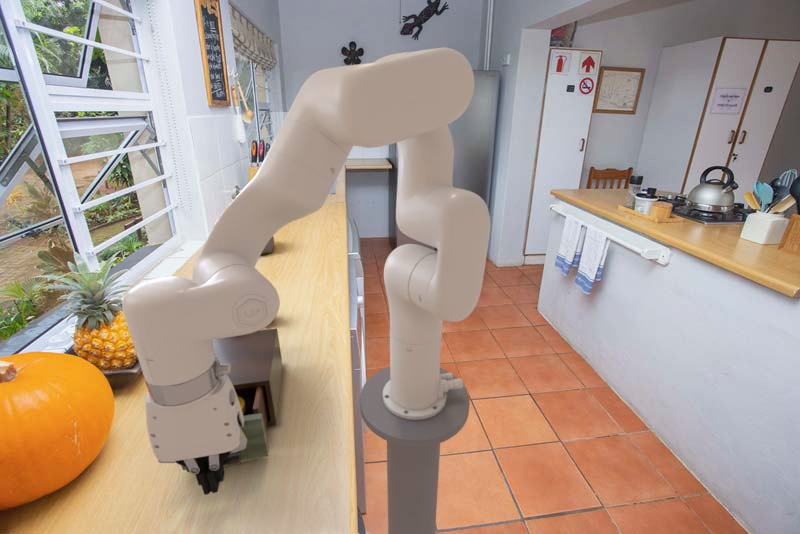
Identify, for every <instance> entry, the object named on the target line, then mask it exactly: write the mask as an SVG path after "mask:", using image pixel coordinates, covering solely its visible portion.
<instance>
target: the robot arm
mask: <svg viewBox="0 0 800 534" xmlns="http://www.w3.org/2000/svg"><path fill="white" fill-rule="evenodd" d="M475 82H476V81H475V73H474V71H473V68H472V65H471V63H470V61H469V60H468V59H467V57H466V56H465V55H463V53H461V52H460V51H458V50H456V49H455V48H450V47H446V46H445V47H444V46H443V47H436V48H428V49H427V48H426V49H422V50H414V51H406V52H405V51H403V52H397V53H393V54H388V55H385V56H382V57H380V58H378V59H377V60H375V61H374V62H367V63H366V62H365V63H359V64H351V65H343V66H335V67H328V68H323V69H320V70H318V71H316V72H314V73H312V74H311V75H310V76H309V77H307V79H306V80H305V81H304V82H303V84H302V85H301V88H300V89H299V91H298V93H297V95H296V97H295V99H294V101H293V103H292V104H291V106H290V108H289V110H288V112H287V114H286V116H285V117H284V120H283V122H282V123H281V126H280V127H279V130H278V131H277V134H276V135H275V138H274V140H273V141H272V143H271V146H270V148H269V149H268V151H267V153H266V155H265V157H264V159H263V160H262V163H261V165H260V167H258V170H257V172H256V174H255V175H254V176H253V178H251V180H250V181H249V182H248V183H247V184H246V185H245V186H244V187H243V188H241V191H240V192H239V193H238V194H237V196H236V197H234V199H232V201H231V202H230V203H229V204H228V205H227V206H226V208H225V209H224V210H223V211H222V213H221V214H220V216H219V217H218V219H217V220H216V222H215V224H213V227H212V229H211V231H210V233H208V237H207V238H206V240H205V243H204V244H203V246H202V248H201V250H200V252H199V254H198V256H197V258H196V260H195V264H194V266H193V269H192V276H191V278H189V277H188V278H187V277H184V276H163V277H157V278H153V279H150V280H147V281H144V282H141V283H139V284H137V285H135V286H133V287H132V288H130V289H129V290H128V291H127V292H126V293H125V295H124V296H123V298H122V302H121V308H122V313H123V316H124V320H125V322H126V326H127V329H128V331H129V335H130V338H131V341H132V344H133V347H134V350H135V353H136V357H137V359H138V363H139V365H140V369H141V372H142V375H143V378H144V382H145V385H146V388H147V393H146V394H145V401H144V402H145V404H144V407H145V420H146V421H145V422H146V429H147V434H148V439H149V443H150V447H151V449H152V452H153V455H154V456H155V458H156V459H157V461H158V463H159V464H177V465H180V466H181V465H182V466H184V467H187V468H188V469H189V471H190V472H189V473H190V474H192V475H195V478H196V481H197V485H198V487H199V486H201V489H202V492H203V495H209V494H210V493H212V494H216V493H218V492H219V487H220V484H221V483H222V482H224V479H225V469H224V466H223V464H222V462H223V461H224V460H225V459H226V458H227V457H228V456H229V455H230V453H235V452H238V451H241V450H244V449H245V448H246V445H247V438H246V436H245V434H244V433H243V431H242V429H241V428H242V427H244V417H243V412H242V409H241V406H240V402H239V400H238V397H237V394H236V391H235V389H234V387H233V384H232V382H231V380H230V379H229V377H228V375H227V374H230V373H231V366H230V363H227V364H224V363H220V361H218V356H215V351H214V347H213V342H212V340H214V339H220V338H227V337H235V336H241V335H246V334H250V333H253V332H256V331H259V330H264V329H265V328H266V327H268V326H269V325H270V324H271V323H272V322H273V321H274V320H275V319H276V317H277V316H278V313H279V311H280V307H281V306H280V304H281V302H280V301H281V300H280V296H279V293H278V290H277V288H276V287H275V286H274V285H273V283H272V282H271V281H270V280H269V279H268V278H267V277H265V276H264V274H262V273H261V272H260V271H259V270H258V269H257V268H256V265H257V263H258V261H259V260H260V257H261V255H262V254H261V253H262V251H263V250H264V248H265V246H266V245H267V243H268V242H269V240H270V239H271V238H272V237H274V235H276V234H277V232H278V231H279V230H281V229H282V228H283V227H285V226H287V225H289V224H291V223H292V222H295V221H298V220H300V219H303V218H305V217H308V216H310V215H313V214H315V213H316V212H318V211H319V210H320V209H321V208H323V205H325V202H326V200H327V198H328V196H329V194H330V192H331V191H332V188H333V186H334V184H335V181H336V180H337V178H338V176H339V174H340V172H341V170H342V168H343V166H344V164H345V163H346V161H347V158H348V157H349V155H350V153H351V151H352V149H353V147H361V148H367V149H370V148H371V149H373V148H381V147H386V146H389V145H393V144H396V145H397V152H398V168H397V169H398V171H397V188H396V202H395V203H396V204H395V205H396V206H395V222H396V225H397V229H399V231H400V232H401V233H402V234H404V235H405V236H407V237H408V238H411V239H413V240H415V241H417V242H419V243H421V244H425V245H427V246H430V247H432V248H434V249H432V248H429V247H426V246H424V245H421V244H415V243H406V244H402V245H398V247H396V248H394V249H393V250H392V251H391V252H390V253H389V254H388V256H387V258H386V260H385V263H384V268H383V283H384V288H385V293H386V297H387V302H388V308H389V309H388V310H389V311H388V312H389V366H390V380H389V381H388V382H387V383H386V385H385V387H384V389H383V402H384V404H385V406H386V407H387V409H388V410H389V411H390V412H392V413H393V414H395V415H396V416H398V417H401V418H404V419H409V420H423V419H427V418H430V417H433V416H435V415H436V414H438V413H439V412H440V411H441V410H442V409H443V407H444V406H445V403H446V396H447V395H446V392H448V390H450V389H461V388H463V385H464V381H463V379H462V378H461V377H460V378H457V379H453V375H454V374H453V373H452V372H449V373H445V374H440V368H441V356H442V355H441V354H442V352H441V351H442V334H443V321H444V322H448V323H458V322H463V320H465V319H466V318H468V317H469V316H470V315H471V314H472V313H473V312H474V310H475V309H476V307H477V305H478V302H479V300H480V295H481V292H482V288H483V281H484V275H485V269H486V261H487V256H488V249H489V242H490V235H491V224H492V223H491V215H490V210H489V208H488V205H487V203H486V202H485V200H484V199H483V198H482V197H481V196H480V195H479V194H477V193H475V192H473V191H471V190H468V189H463V188H459V187H455V186H454V185H453V174H454V160H455V159H454V158H455V148H454V147H455V146H454V140H453V136H452V133H451V131H450V128H449V126H448V125H450V124H451V123H453V122H455V121H456V120H458V119H459V118H460V117H462V115H463V114H464V113H465V112H466V111H467V109H468V107H469V106H470V104H471V102H472V99H473V96H474V92H475ZM435 249H437V250H435ZM447 380H449V381H447ZM182 466H181V467H182Z"/></svg>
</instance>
